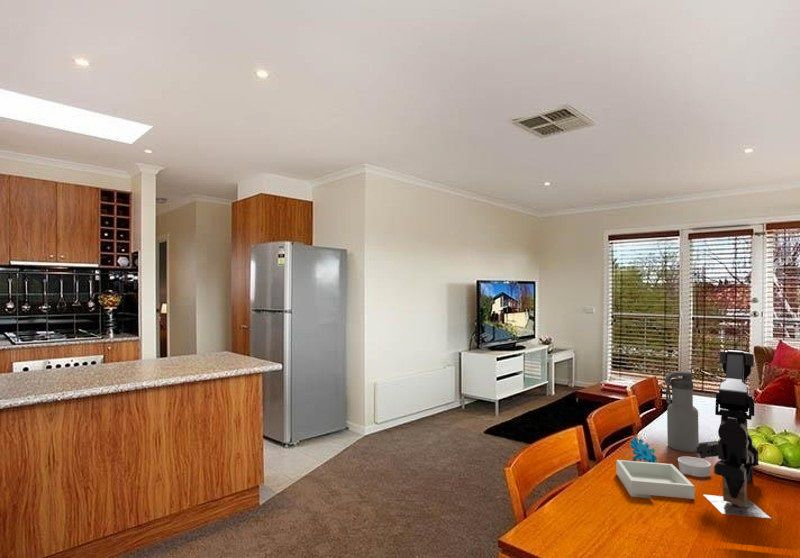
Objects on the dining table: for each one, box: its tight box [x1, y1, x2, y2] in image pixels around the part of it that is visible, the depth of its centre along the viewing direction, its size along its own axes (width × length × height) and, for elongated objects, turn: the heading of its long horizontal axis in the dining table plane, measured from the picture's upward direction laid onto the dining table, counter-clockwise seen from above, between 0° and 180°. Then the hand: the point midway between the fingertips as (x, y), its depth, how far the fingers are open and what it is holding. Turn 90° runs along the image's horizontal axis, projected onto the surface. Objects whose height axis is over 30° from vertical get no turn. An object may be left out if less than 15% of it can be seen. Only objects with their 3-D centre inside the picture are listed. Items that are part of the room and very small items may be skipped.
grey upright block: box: [722, 474, 748, 506], centre depth 119 cm, size 4×4×7 cm
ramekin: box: [677, 456, 712, 478], centre depth 142 cm, size 9×9×4 cm
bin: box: [616, 459, 695, 500], centre depth 133 cm, size 16×16×4 cm
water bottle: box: [664, 370, 700, 453], centre depth 166 cm, size 10×10×28 cm
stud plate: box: [703, 494, 771, 519], centre depth 119 cm, size 11×11×4 cm
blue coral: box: [629, 437, 658, 463], centre depth 153 cm, size 11×6×10 cm
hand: (735, 494), depth 119 cm, fingers closed on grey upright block, 4 cm apart
